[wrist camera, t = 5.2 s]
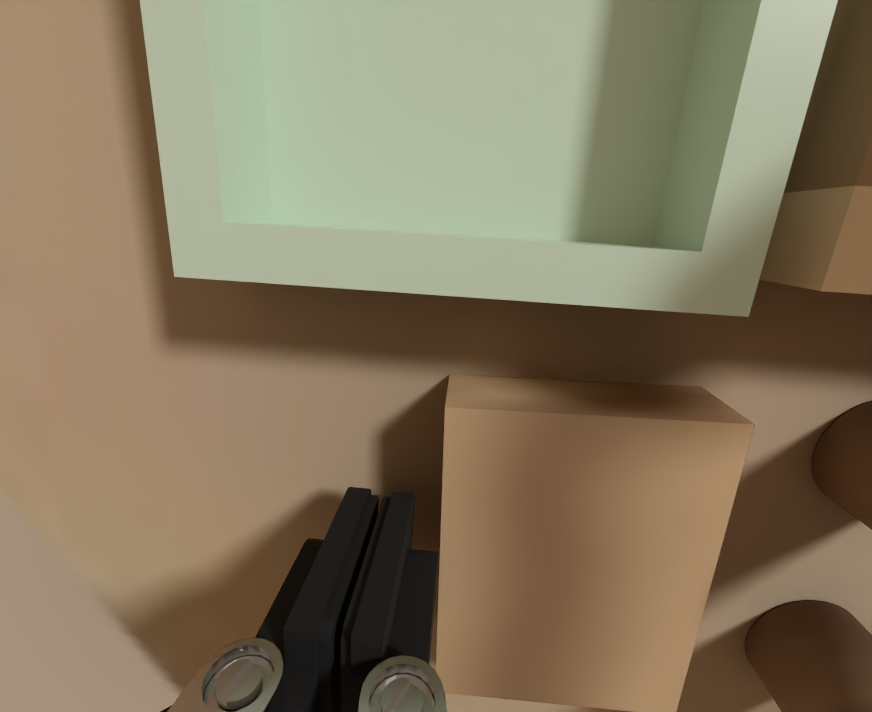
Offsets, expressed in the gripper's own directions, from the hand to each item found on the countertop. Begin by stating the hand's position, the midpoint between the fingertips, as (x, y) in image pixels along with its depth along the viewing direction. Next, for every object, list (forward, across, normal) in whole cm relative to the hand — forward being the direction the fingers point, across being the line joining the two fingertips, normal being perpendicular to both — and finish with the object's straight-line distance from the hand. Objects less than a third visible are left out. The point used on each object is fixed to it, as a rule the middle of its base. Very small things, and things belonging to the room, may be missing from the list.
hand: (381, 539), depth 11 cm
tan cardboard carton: (+2, -4, 0) cm, 5 cm away
